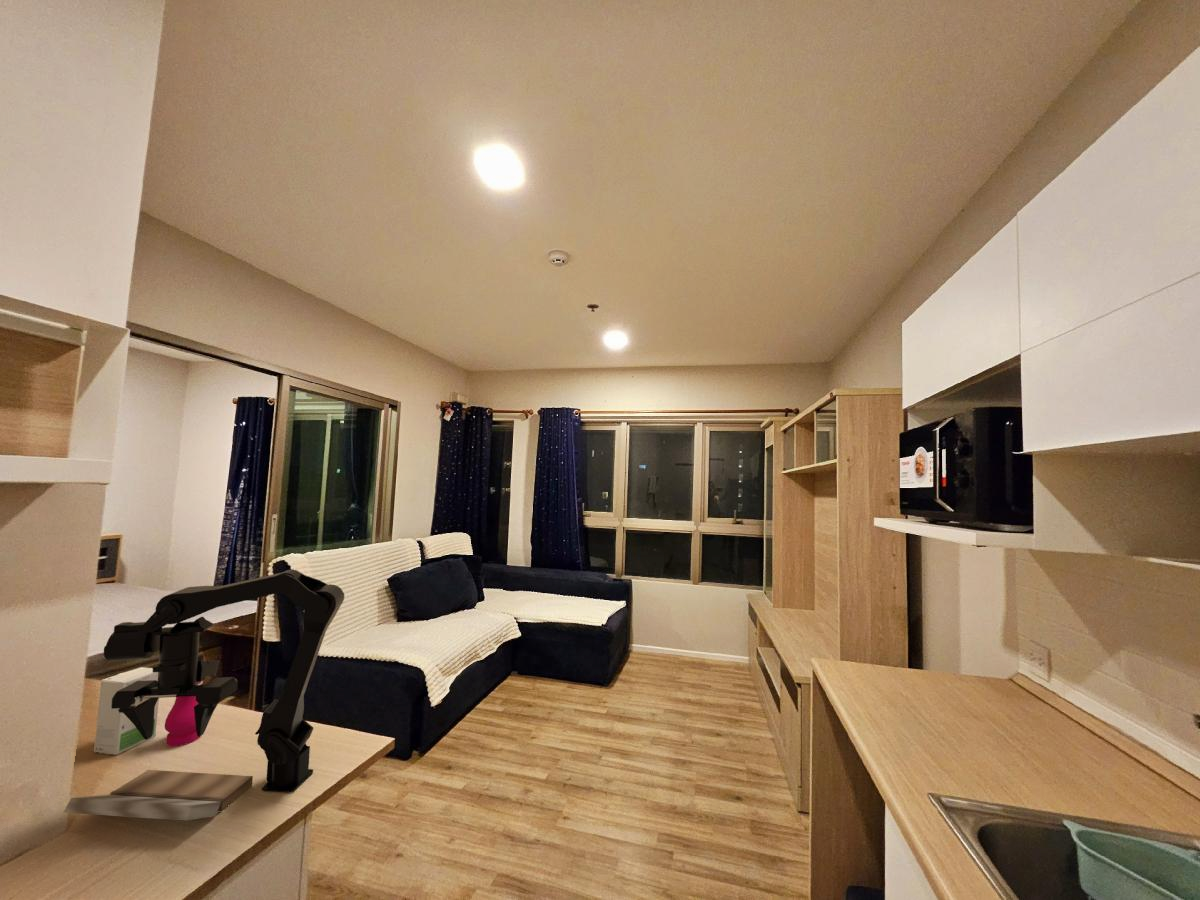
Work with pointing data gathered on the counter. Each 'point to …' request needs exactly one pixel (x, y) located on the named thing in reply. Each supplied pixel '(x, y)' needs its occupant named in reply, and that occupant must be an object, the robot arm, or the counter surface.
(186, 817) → the grey plank
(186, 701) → the pepper mill
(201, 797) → the walnut plank
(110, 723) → the skincare box
